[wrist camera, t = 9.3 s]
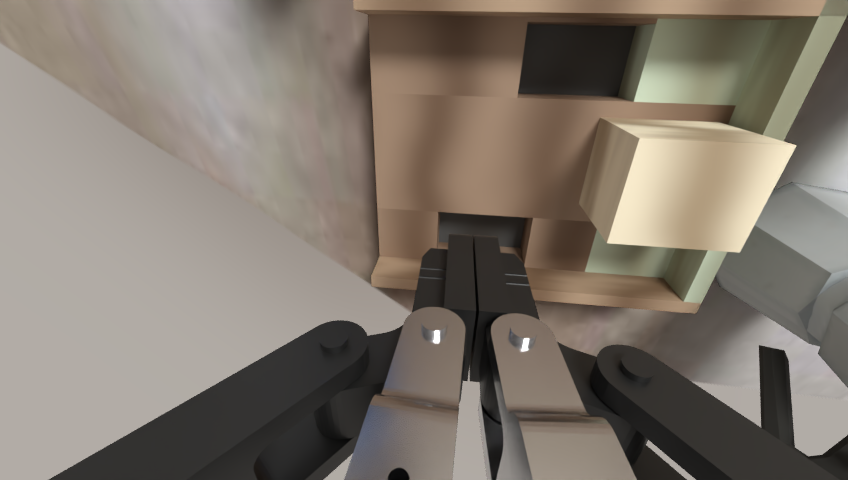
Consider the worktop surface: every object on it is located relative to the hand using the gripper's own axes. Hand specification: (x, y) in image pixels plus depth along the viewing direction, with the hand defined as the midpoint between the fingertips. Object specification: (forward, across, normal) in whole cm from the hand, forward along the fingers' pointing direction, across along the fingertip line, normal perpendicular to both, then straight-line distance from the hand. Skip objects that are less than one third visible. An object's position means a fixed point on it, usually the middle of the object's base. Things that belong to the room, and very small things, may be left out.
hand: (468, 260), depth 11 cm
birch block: (+11, -10, 0) cm, 15 cm away
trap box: (+14, -5, 0) cm, 14 cm away
